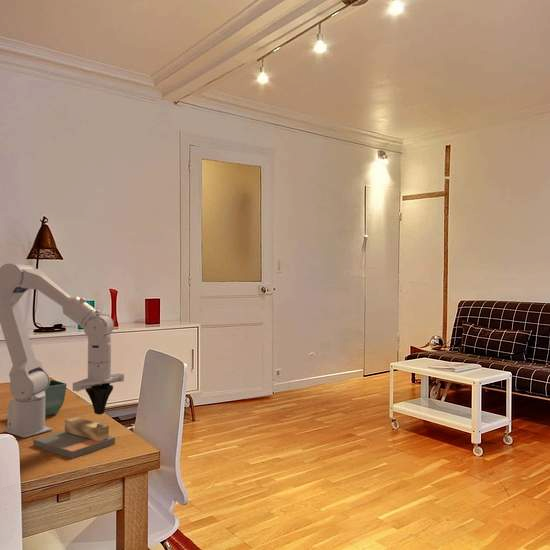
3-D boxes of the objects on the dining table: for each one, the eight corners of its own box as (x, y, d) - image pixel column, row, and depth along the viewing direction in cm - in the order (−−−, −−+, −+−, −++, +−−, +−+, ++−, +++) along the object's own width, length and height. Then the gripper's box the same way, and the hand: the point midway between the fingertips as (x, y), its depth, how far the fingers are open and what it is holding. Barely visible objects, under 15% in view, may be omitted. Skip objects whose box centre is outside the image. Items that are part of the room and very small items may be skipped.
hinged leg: (108, 438, 123) (108, 423, 123) (98, 441, 120) (98, 426, 120) (75, 428, 130) (75, 414, 130) (64, 431, 127) (64, 417, 127)
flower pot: (52, 408, 155) (52, 379, 155) (67, 413, 149) (67, 383, 149) (23, 414, 148) (23, 383, 148) (37, 420, 142) (37, 388, 142)
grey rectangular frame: (33, 445, 122) (33, 438, 122) (76, 432, 132) (76, 426, 132) (71, 458, 114) (71, 451, 114) (114, 443, 124) (114, 437, 124)
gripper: (85, 367, 123) (84, 422, 123) (131, 359, 135) (131, 409, 135) (67, 364, 127) (67, 418, 127) (114, 356, 139) (114, 405, 139)
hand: (99, 413), depth 132 cm, fingers closed
